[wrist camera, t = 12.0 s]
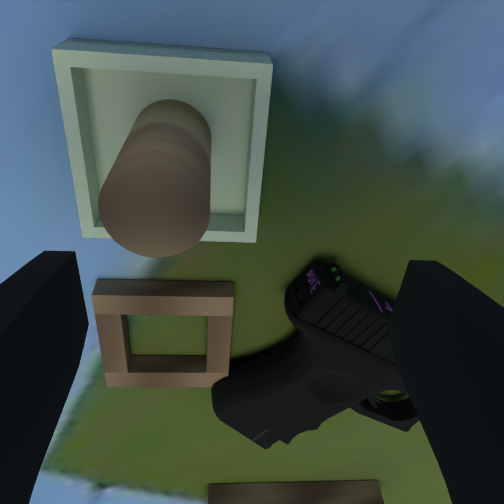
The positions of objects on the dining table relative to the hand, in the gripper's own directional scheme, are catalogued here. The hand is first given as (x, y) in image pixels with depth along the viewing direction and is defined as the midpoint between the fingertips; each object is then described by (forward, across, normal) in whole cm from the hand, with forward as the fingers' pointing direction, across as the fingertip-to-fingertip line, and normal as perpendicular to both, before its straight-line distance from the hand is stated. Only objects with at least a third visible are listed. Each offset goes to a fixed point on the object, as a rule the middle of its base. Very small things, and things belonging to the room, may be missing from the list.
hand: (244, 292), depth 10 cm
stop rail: (+10, -6, +28) cm, 30 cm away
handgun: (+10, -10, +15) cm, 21 cm away
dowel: (+9, +2, 0) cm, 9 cm away
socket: (+10, +3, +11) cm, 15 cm away
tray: (+10, +2, 0) cm, 10 cm away
